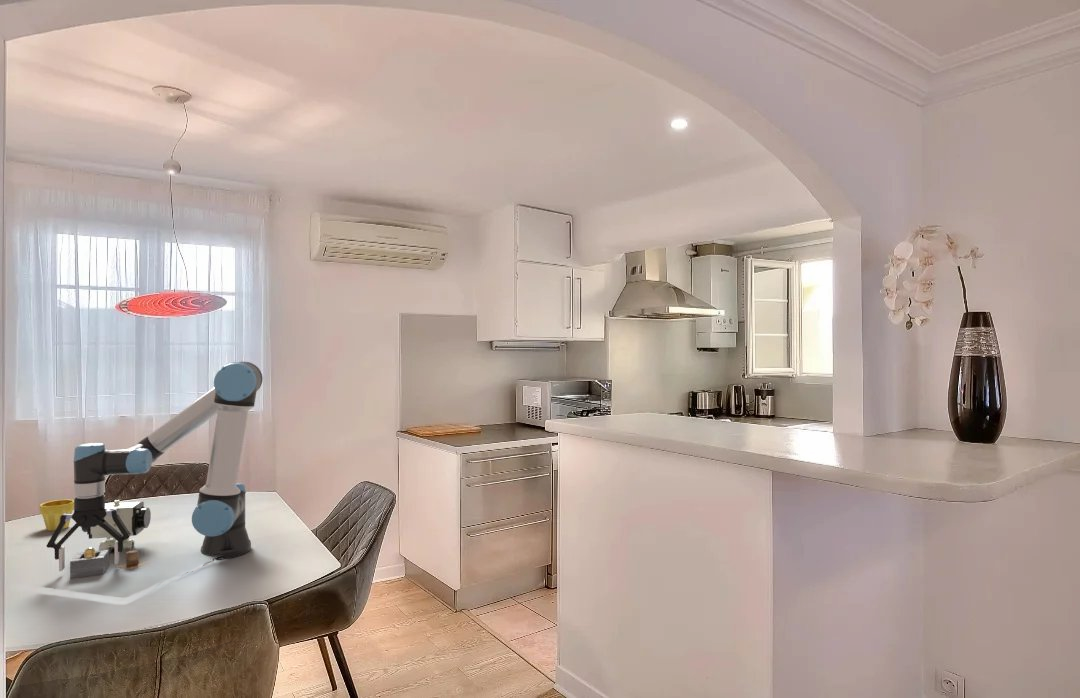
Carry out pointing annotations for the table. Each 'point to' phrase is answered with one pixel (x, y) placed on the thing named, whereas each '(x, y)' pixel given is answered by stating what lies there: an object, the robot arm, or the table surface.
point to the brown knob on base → (132, 560)
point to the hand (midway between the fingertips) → (89, 566)
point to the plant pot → (56, 512)
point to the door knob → (89, 553)
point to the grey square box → (89, 564)
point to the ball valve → (132, 518)
